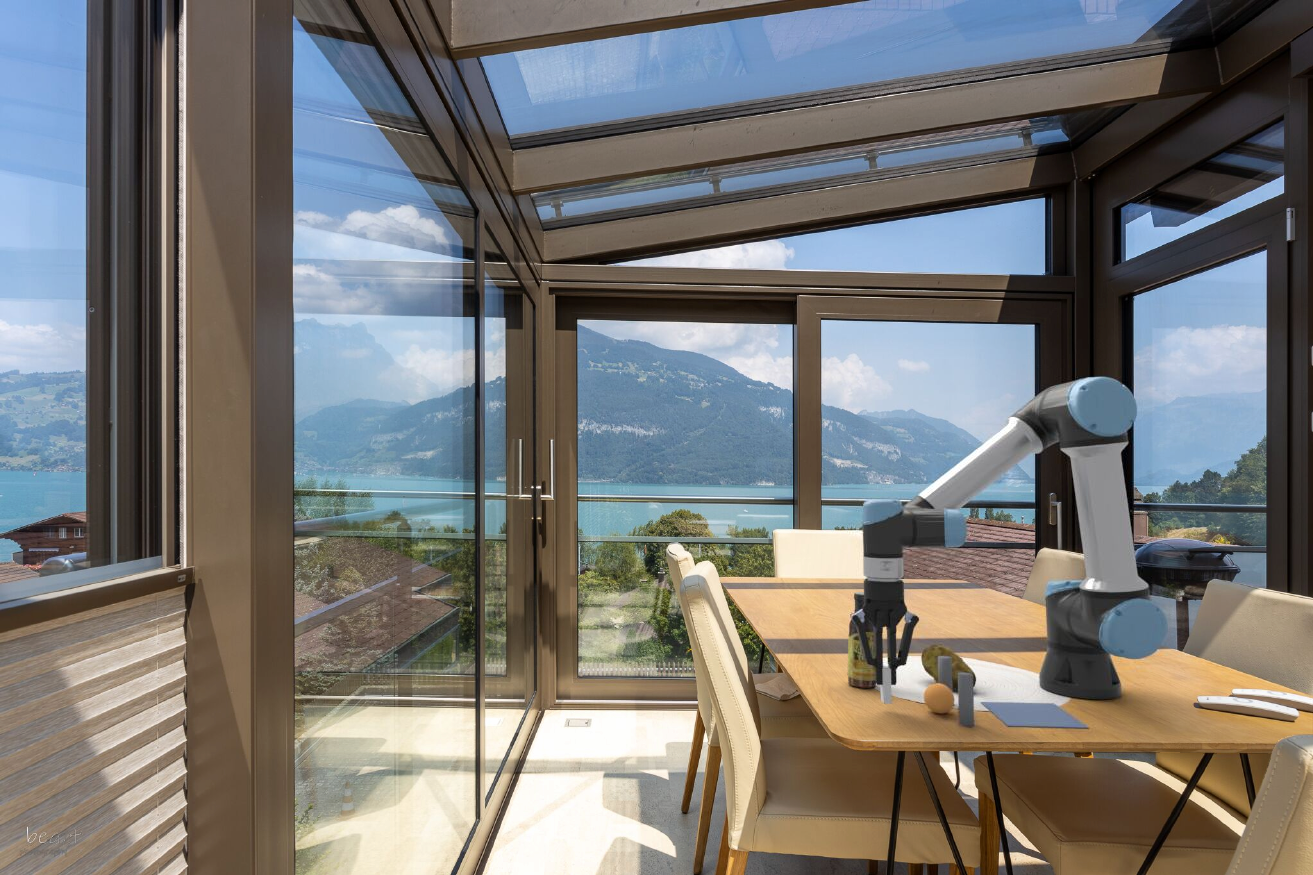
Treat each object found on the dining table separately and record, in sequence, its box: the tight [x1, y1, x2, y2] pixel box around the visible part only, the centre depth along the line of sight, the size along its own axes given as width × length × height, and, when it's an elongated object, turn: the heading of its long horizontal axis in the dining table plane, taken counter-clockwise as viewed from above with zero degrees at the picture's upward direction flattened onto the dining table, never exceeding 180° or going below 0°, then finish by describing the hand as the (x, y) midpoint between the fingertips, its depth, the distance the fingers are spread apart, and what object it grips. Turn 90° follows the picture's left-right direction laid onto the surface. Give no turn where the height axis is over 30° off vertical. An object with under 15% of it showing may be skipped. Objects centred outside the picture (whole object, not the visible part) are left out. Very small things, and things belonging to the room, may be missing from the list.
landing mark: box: [980, 701, 1089, 729], centre depth 140 cm, size 14×14×1 cm
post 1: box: [938, 656, 954, 694], centre depth 147 cm, size 3×3×9 cm
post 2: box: [957, 672, 975, 728], centre depth 135 cm, size 3×3×9 cm
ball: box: [923, 682, 955, 715], centre depth 141 cm, size 6×6×6 cm
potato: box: [920, 644, 977, 691], centre depth 159 cm, size 8×13×8 cm, turn 3°
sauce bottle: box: [847, 591, 877, 689], centre depth 160 cm, size 6×6×20 cm
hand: (886, 701), depth 142 cm, fingers closed
